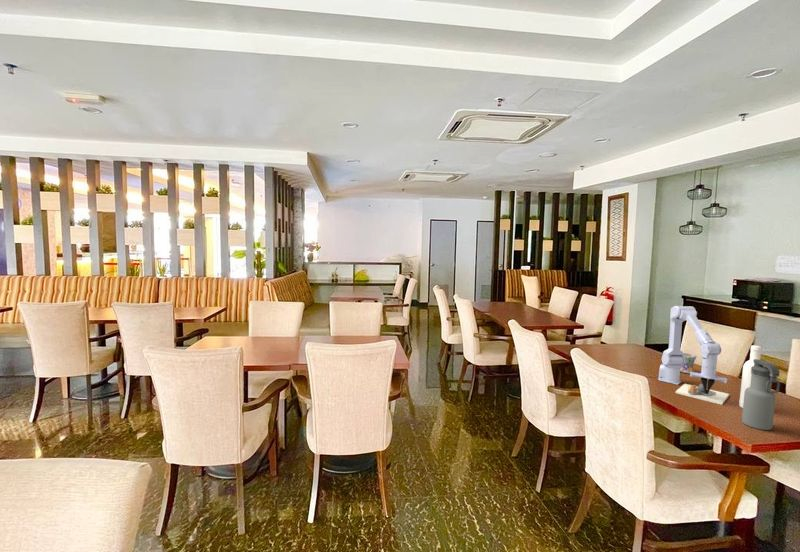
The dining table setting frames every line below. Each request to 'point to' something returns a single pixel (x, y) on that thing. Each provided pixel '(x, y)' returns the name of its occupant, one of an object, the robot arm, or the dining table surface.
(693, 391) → the grey metal bracket
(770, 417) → the water bottle
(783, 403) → the dining table surface
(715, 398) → the base board
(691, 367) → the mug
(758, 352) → the bottle
